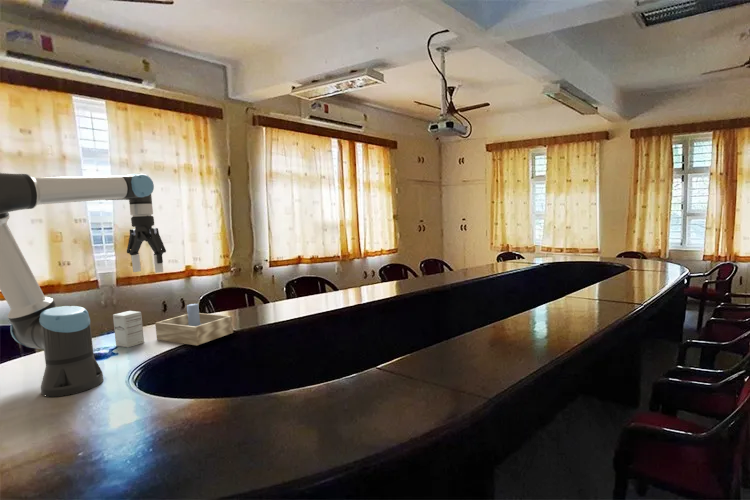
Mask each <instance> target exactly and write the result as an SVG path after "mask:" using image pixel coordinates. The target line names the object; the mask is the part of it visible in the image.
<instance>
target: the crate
mask: <svg viewBox="0 0 750 500" xmlns="http://www.w3.org/2000/svg"><path fill="white" fill-rule="evenodd" d="M199 315H200V325H199V326H189V324H188V313H185V314H182V315H179V316H175V317H171V318H168V319H164V320H161V321H160V320H159V321H156V322H155V323H154V324H155V333H156V340H157V341H163V342H164V341H165V342H170V343H171V342H172V343H177V344H178V343H179V344H183V343H184V344H185V345H190V346H191V345H192V346H199V345H202V344H205V343H208V342H210V341H214V340H216V339H219V338H222V337H224V336H229V335H230V334H233V333H234V325H233V323H234V322H233V316H232V315H223V314H222V315H221V314H216V313H215V314H213V313H203V312H202V313H201V312H199Z"/></svg>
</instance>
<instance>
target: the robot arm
mask: <svg viewBox="0 0 750 500" xmlns="http://www.w3.org/2000/svg"><path fill="white" fill-rule="evenodd" d="M154 187H155V186H154V181H153V180H152V178H151V177H149V174H145V173H128V174H127V175H125V174H124V175H122V174H121V175H86V176H85V175H84V176H81V175H80V176H79V175H78V176H76V175H75V176H42V177H41V176H37V177H35V176H33V177H32V176H31V175H30V174H28V173H5V172H4V173H3V172H0V292H1V294H2V296H3V298H4V300H5V301H6V303H7V304H8V306H9V309H10V310H9V311H8V314H7V318H8V320H9V321H10V323H11V324H10V335H11V337H12V338H13V339H14V341H15V342H16V343H18V344H20V345H22V346H24V347H26V348H29V349H39V350H43V354H44V362H45V369H44V373H43V376H42V380H41V385H40V391H41V395H42V394H43V395H46V396H58V397H64V396H63V395H65V396H69V395H70V394H71V395H75V394H79V393H83V392H86V391H87V390H90V389H93V388H96V387H97V386H99V385H101V384H102V383H103V382H104V373H103V371H102V369H101V367H100V365H99V364H98V362H97V360H96V358H95V354H94V346H93V345H94V344H93V337H92V329H91V317H90V315H89V312H88V310H87V309H86V308H85V307H82V306H80V305H79V306H77V305H71V306H70V305H63V306H58V305H56V302H55V301H54V299H53V297H52V298H51V297H49V296H46V295H44V293H43V290H42V288H41V287H40V284H39V283H38V281H37V279H36V277H35V275H34V273H33V271H32V269H31V267H30V265H29V263H28V262H27V260H26V258H25V256H24V255H23V253H22V251H21V249H20V247H19V244H18V243H17V241H16V239H15V237H14V235H13V233H12V231H11V230H10V228H9V225H8V223H7V222H8V220H9V219H10V217H11V215H10V213H11V212H16V211H21V210H32V209H35V208H36V207H37V206H39V205H51V204H65V203H80V202H92V201H123V200H124V201H128V203H129V213H130V216H131V217H130V221H131V222H130V223H131V227H133V228H134V229H133V228H130V229H129V238H128V243H127V247H126V248H127V249H126V253H127V254H129V255H130V256H131V257H130V258H131V264H132V272H133V273H137V272H138V273H139V272H142V267H141V258H140V254H139V251H140V249H141V247H142V244H143V242H147V243H148V245H149V247H150V249H152V251H153V252H154V253H153V260H154V273H155V274H157V273H159V274H160V273H163V272H164V266H163V265H164V264H163V263H164V261H163V254H164V253H166V252H167V250H166V247H165V245H164V243H163V240H162V238H161V236H160V232H159V228H158V227H152V226H155V217H154V216H153V214H154V210H153V198H152V197H153V196H152V193H154V189H155V188H154ZM43 395H42V396H43ZM71 395H70V396H71ZM46 396H45V397H46Z"/></svg>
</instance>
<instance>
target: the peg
mask: <svg viewBox="0 0 750 500" xmlns="http://www.w3.org/2000/svg"><path fill="white" fill-rule="evenodd" d="M199 307H200V306H199V303H190V304H187V305H186V311H187V312H186V314H188V324H189V326H199V325H200V315H199V313H200V309H199Z"/></svg>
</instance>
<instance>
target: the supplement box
mask: <svg viewBox="0 0 750 500" xmlns="http://www.w3.org/2000/svg"><path fill="white" fill-rule="evenodd" d="M112 318H113V319H112V321H113V327H114V328H113V329H114V337H115V339H114V340H115V346H116V347H124V348H131V347H135V346H137V345H141V344H143V343H145V339H144V338H145V337H144V327H143V325H144V324H143V317H142V312H141V311H135V310H127V311H122V312H118V313H114V314H112Z"/></svg>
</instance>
